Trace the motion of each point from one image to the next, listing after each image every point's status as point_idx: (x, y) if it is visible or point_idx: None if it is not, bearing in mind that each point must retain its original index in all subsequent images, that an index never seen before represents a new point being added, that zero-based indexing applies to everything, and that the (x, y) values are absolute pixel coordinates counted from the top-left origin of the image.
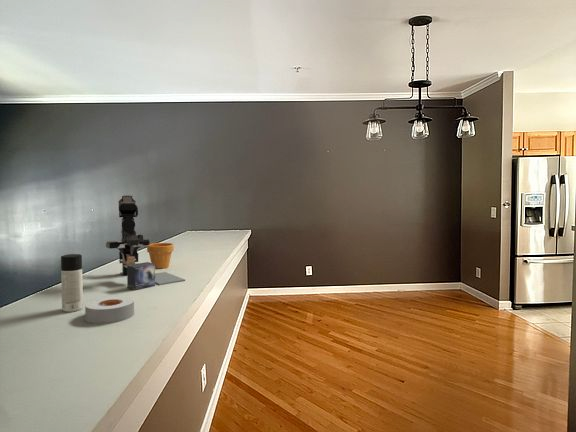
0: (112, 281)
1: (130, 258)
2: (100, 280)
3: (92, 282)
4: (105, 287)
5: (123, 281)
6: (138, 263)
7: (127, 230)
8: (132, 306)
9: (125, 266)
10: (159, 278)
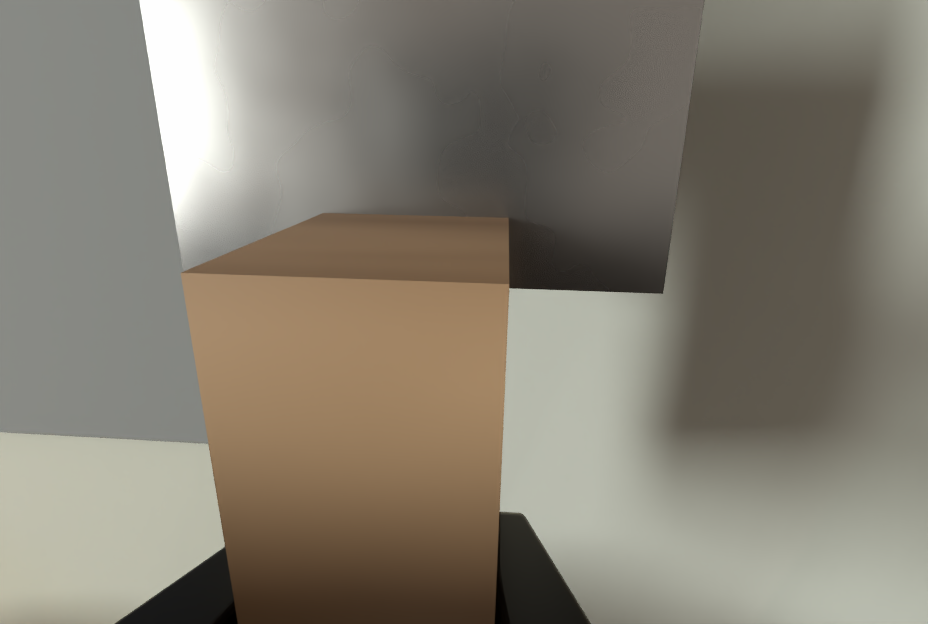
0: (648, 430)
1: (446, 271)
2: (732, 570)
3: (859, 539)
4: (913, 142)
5: (536, 334)
6: (202, 253)
7: None
8: None
9: (678, 132)
10: (41, 71)
